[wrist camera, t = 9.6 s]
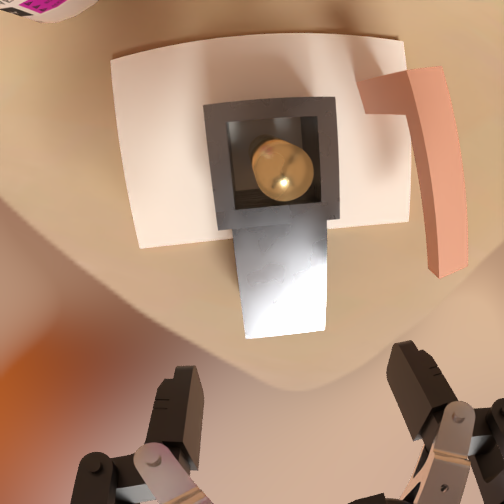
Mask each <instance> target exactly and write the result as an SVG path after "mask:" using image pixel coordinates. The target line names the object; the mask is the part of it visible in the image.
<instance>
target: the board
mask: <svg viewBox="0 0 504 504" xmlns="http://www.w3.org/2000/svg"><path fill="white" fill-rule="evenodd" d="M110 62H111V75H112V86H113V96H114V105H115V114H116V122H117V129H118V137H119V143H120V150H121V156H122V163H123V169H124V174H125V180H126V185H127V191H128V196H129V201H130V206H131V211H132V216H133V220H134V225H135V230H136V234H137V238H138V243H139V247H140V249H142V248H150V247H159V246H168V245H177V244H186V243H195V242H204V241H213V240H222V239H232V238H233V234H232V229H228V230H219V231H218V227H217V219H216V212H215V204H214V196H213V188H212V180H211V172H210V164H209V156H208V147H207V139H206V130H205V121H204V112H203V105H207V104H215V103H224V102H233V101H243V100H254V99H268V98H286V97H335V100H336V114H337V130H338V150H339V182H340V219H336V220H327V229H332V228H343V227H354V226H365V225H376V224H388V223H399V222H409V208H410V187H411V136H410V132H409V128H408V123H407V119H406V115H392V114H365V110H364V107H363V104H362V100H361V97H360V94H359V90H358V87H357V84H356V82H359V81H363V80H367V79H370V78H374V77H378V76H383V75H387V74H391V73H396V72H400V71H405V70H407V68H406V59H405V51H404V44H403V41H398V40H391V39H384V38H376V37H367V36H356V35H343V34H324V33H275V34H255V35H242V36H232V37H222V38H214V39H207V40H200V41H193V42H187V43H181V44H176V45H171V46H166V47H161V48H156V49H152V50H147V51H143V52H139V53H135V54H131V55H127V56H123V57H120V58H116V59H113V60H110ZM229 130H230V140H231V149H232V159H233V168H234V178H235V187H236V191H240V190H250V189H260V188H259V186H258V184H257V182H256V179H255V175H254V172H253V168H252V165H251V161H250V158H249V153H248V150H249V146H250V144H251V142H252V141H253V140H254V139H255V138H256V137H258V136H260V135H263V134H269V135H273V136H275V137H277V138H280V139H282V140H284V141H287V142H289V143H291V144H293V145H295V146H298V147H299V148H301V149H302V150H303V148H302V133H301V120H300V117H286V118H270V119H257V120H246V121H235V122H229Z"/></svg>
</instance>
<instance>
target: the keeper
mask: <svg viewBox="0 0 504 504" xmlns="http://www.w3.org/2000/svg"><path fill="white" fill-rule="evenodd" d="M356 84H357V87H358V90H359V94H360V97H361V100H362V104H363V107H364V110H365V114H392V115H406V119H407V123H408V128H409V132H410V136H411V141H412V146H413V151H414V156H415V161H416V166H417V172H418V178H419V184H420V191H421V198H422V205H423V213H424V222H425V232H426V243H427V256H428V269H429V270H430V271H431V272H433V273H434V274H435V275H436V276H437V277H438V278H439V279H440V278H442V277H445V276H447V275H449V274H451V273H454V272H456V271H458V270H460V269H463V268H465V267H467V266H468V224H467V206H466V193H465V182H464V173H463V165H462V157H461V151H460V144H459V138H458V133H457V127H456V122H455V117H454V112H453V108H452V103H451V99H450V95H449V91H448V87H447V83H446V79H445V76H444V72H443V69H442V66H437V67H428V68H419V69H411V70H405V71H400V72H396V73H391V74H387V75H383V76H378V77H374V78H370V79H367V80H363V81H359V82H356Z"/></svg>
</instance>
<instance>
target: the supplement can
mask: <svg viewBox="0 0 504 504" xmlns="http://www.w3.org/2000/svg"><path fill="white" fill-rule="evenodd" d="M97 1H98V0H0V10H3V11H6V12H10V13H13V14H16V15H19V16H22V17H25V18H28V19H31V20H34V21H37V22H39V23H58V22H60V21H63V20H66V19H69V18H72V17H75V16H77V15H78V14H80V13H81V12H83V11H84V10H86V9H87V8H89V7H91V6H92V5H94V4H95V3H96V2H97Z"/></svg>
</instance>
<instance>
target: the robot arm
mask: <svg viewBox="0 0 504 504" xmlns="http://www.w3.org/2000/svg"><path fill="white" fill-rule="evenodd" d="M386 373H387V380H388V382H389V385H390V387H391V390H392V392H393V394H394V396H395V399H396V401H397V403H398V406H399V408H400V410H401V413H402V415H403V418H404V420H405V422H406V425H407V427H408V429H409V432H410V434H411V437H412V439H413V441H416V440H419V439H423V441H424V444H423V446H422V449H421V452H420V455H419V457H418V460H417V463H416V465H415V468H414V471H413V473H412V476H411V478H410V480H409V482H408V484H407V486H406V488H405V489H404V491H403V493H402V495H401V496H400V498H399V499H391V498H385V496H384V493H381V494H378V495H374V496H370V497H367V498H362V499H358V500H355V501H353V502H351V503H348V504H460V501H461V498H462V495H463V492H464V488H465V485H466V481H467V478H468V474H469V470H470V465H471V467H472V469H473V472H474V475H475V478H476V480H477V483H478V486H479V489H480V492H481V495H482V498H483V501H484V504H504V459H503V458H504V398H502V399H498V400H496V402H494V404H493V405H492V407H491V408H478V409H473V408H472V407H471V406H470V405H469V404H468V403H466V402H463V401H458V399H457V398H456V396H455V394H454V393H453V391H452V389H451V388H450V386H449V384H448V382H447V381H446V379H445V377H444V375H443V374H442V372H441V370H440V369H439V367H437V364H436V362H435V361H434V359H433V357H432V356H430V355H429V354H428V353H426V352H425V351H424V350H420V351H418V349H417V347H416V346H415V344H414V343H413V341H411V340H409V341H405V342H400V343H395V344H394V345H393V347H392V351H391V355H390V359H389V362H388V366H387V372H386ZM203 408H204V394H203V389H202V385H201V382H200V378H199V375H198V372H197V368H196V366H177V367H176V369H175V373H174V378H173V379H164V381H163V382H162V383H161V385H160V386H159V387H158V389H157V393H156V397H155V402H154V406H153V410H152V415H151V419H150V423H149V428H148V433H147V438H146V441H145V443H144V445H143V446H141V447H140V448H139V449H138V450H137V451H136V452H135V453H134V454H131V455H127V456H122V457H116V458H109V457H108V456H107V455H106V454H104V453H101V452H92V453H89V454H87V455H86V456H84V458H82V460H81V461H80V464H79V467H78V472H77V476H76V480H75V484H74V489H73V494H72V498H71V504H140V502H146V501H151V500H157V501H158V503H159V504H213V503H212V502H211V500H210V499H209V498H208V497H207V496H206V495H205V494H204V493H203V492H202V490H200V489H199V488H198V486H197V485H196V484H195V483H194V481H193V480H192V479H191V478H190V470H198V466H199V453H200V441H201V430H202V419H203ZM467 456H468V459H469V460H467Z"/></svg>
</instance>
